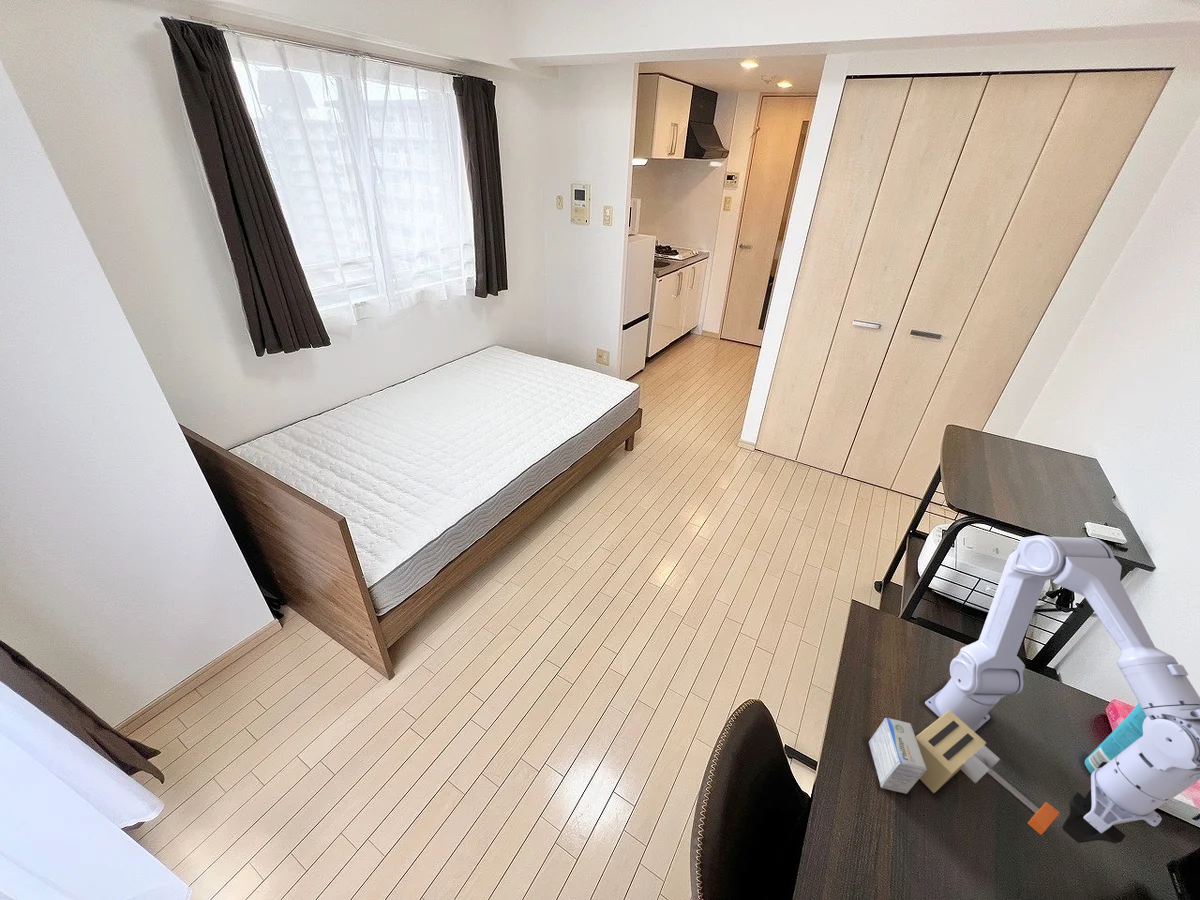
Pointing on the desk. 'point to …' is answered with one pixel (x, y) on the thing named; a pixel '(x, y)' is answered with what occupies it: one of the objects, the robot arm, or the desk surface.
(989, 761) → the toaster
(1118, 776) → the robot arm
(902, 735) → the medicine box
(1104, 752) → the tube
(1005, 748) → the desk surface
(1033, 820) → the lever
